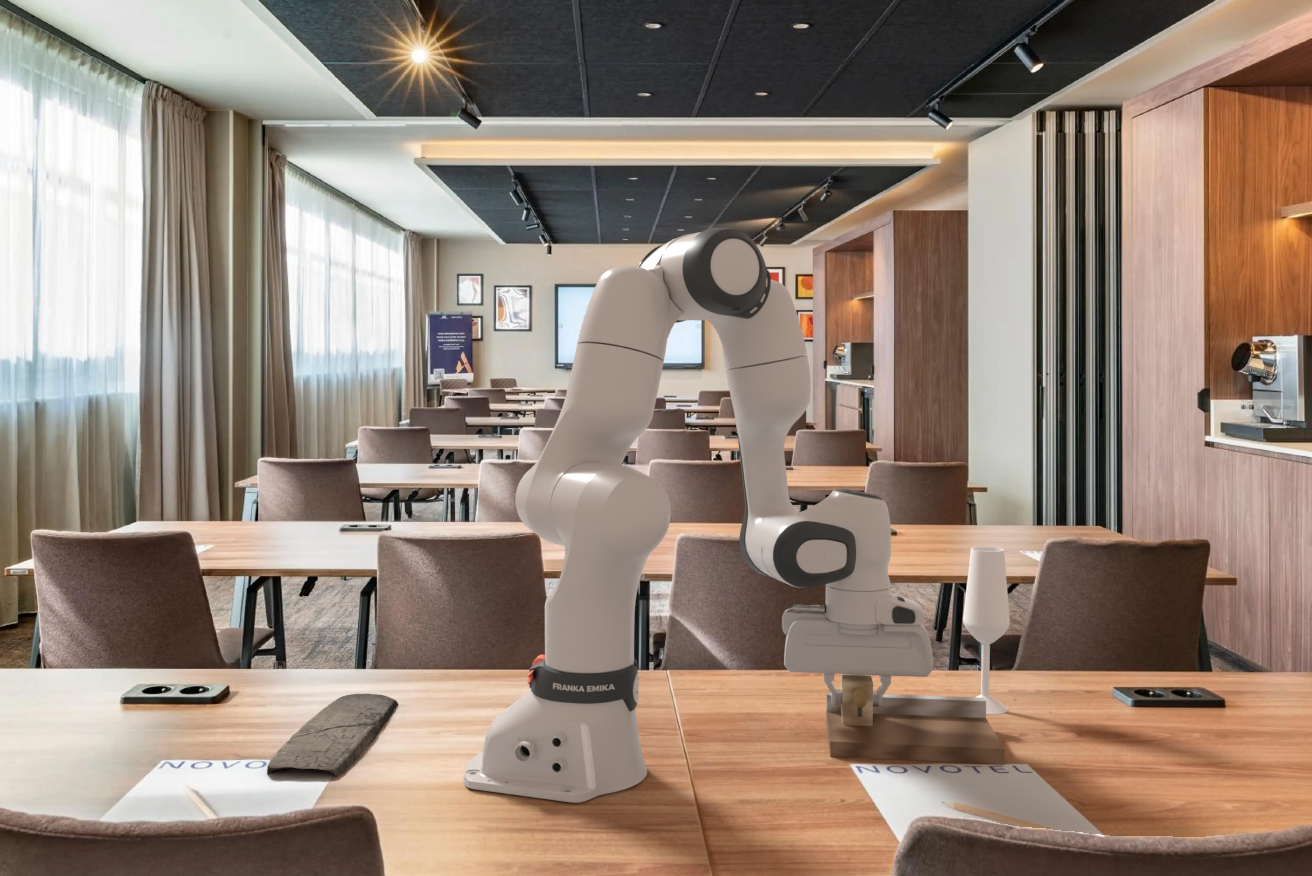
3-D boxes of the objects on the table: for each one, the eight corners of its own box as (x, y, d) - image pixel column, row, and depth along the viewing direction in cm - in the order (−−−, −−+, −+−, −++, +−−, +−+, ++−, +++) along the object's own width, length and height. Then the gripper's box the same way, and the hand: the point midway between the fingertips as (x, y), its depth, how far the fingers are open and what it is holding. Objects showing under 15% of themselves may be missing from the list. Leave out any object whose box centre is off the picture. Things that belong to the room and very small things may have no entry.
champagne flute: (1002, 701, 159) (1005, 546, 158) (1013, 715, 153) (1016, 553, 151) (957, 699, 160) (960, 545, 159) (966, 713, 153) (968, 552, 152)
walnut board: (830, 756, 135) (830, 723, 135) (826, 722, 149) (826, 691, 149) (1004, 764, 133) (1004, 730, 132) (983, 728, 147) (984, 697, 146)
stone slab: (404, 691, 158) (340, 755, 128) (405, 712, 158) (341, 781, 128) (337, 692, 158) (257, 756, 128) (338, 713, 158) (258, 781, 128)
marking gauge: (844, 734, 138) (844, 690, 138) (840, 713, 147) (841, 671, 147) (875, 735, 137) (875, 691, 137) (869, 714, 146) (870, 672, 146)
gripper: (781, 608, 141) (781, 708, 142) (935, 613, 139) (934, 714, 140) (782, 599, 148) (781, 695, 148) (929, 603, 145) (927, 700, 146)
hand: (856, 704), depth 144 cm, fingers closed on marking gauge, 4 cm apart
